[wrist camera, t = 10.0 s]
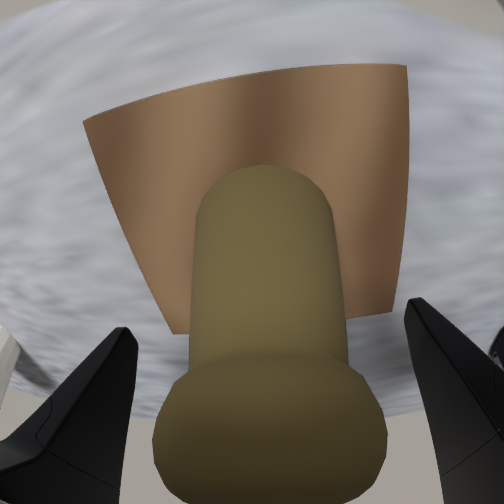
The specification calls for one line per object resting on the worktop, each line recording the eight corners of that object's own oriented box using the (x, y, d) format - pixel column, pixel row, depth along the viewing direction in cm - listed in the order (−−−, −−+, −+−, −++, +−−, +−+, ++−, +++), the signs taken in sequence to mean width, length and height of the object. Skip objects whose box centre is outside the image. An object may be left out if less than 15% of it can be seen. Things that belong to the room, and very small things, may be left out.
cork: (357, 240, 14) (442, 487, 5) (254, 302, 16) (251, 527, 7) (277, 134, 11) (342, 465, 2) (167, 222, 14) (73, 483, 4)
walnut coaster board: (396, 63, 10) (406, 65, 9) (387, 299, 17) (392, 311, 17) (93, 115, 12) (82, 121, 11) (176, 322, 19) (173, 334, 18)
